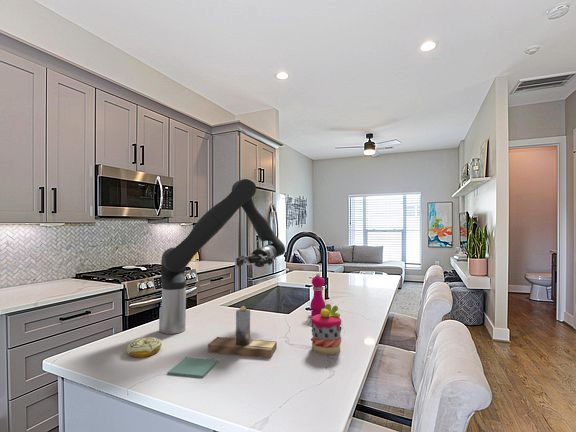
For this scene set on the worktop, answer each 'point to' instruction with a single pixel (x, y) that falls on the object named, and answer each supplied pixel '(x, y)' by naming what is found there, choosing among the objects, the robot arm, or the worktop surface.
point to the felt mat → (193, 367)
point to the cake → (326, 331)
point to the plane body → (243, 347)
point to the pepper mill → (317, 295)
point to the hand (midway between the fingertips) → (248, 263)
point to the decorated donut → (144, 347)
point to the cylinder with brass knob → (243, 326)
